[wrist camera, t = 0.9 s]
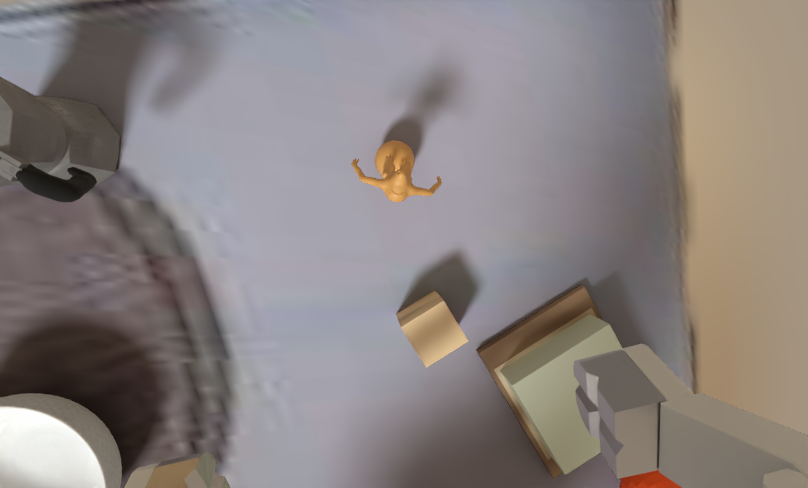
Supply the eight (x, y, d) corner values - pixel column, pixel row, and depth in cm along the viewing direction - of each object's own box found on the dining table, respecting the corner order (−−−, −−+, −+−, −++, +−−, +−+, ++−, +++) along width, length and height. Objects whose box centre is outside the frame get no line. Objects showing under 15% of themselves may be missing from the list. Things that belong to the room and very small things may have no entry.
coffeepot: (-19, 148, 44) (-267, 119, 26) (32, 64, 44) (-184, -22, 26) (130, 235, 47) (-5, 261, 29) (180, 156, 46) (74, 134, 29)
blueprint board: (648, 409, 56) (654, 414, 54) (550, 473, 55) (554, 478, 54) (580, 285, 53) (585, 287, 52) (476, 350, 52) (479, 353, 51)
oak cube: (457, 327, 52) (468, 341, 47) (419, 350, 52) (426, 367, 47) (434, 289, 51) (443, 300, 46) (396, 313, 51) (400, 327, 46)
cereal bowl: (-15, 358, 46) (-79, 388, 39) (157, 392, 49) (124, 425, 42) (-45, 514, 48) (-112, 569, 41) (123, 539, 50) (86, 595, 43)
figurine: (434, 151, 49) (461, 139, 37) (423, 207, 50) (446, 212, 38) (357, 134, 48) (359, 115, 36) (346, 191, 49) (345, 191, 37)
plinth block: (635, 398, 54) (658, 414, 50) (549, 454, 54) (565, 475, 50) (589, 313, 52) (609, 323, 48) (499, 370, 52) (512, 385, 48)
